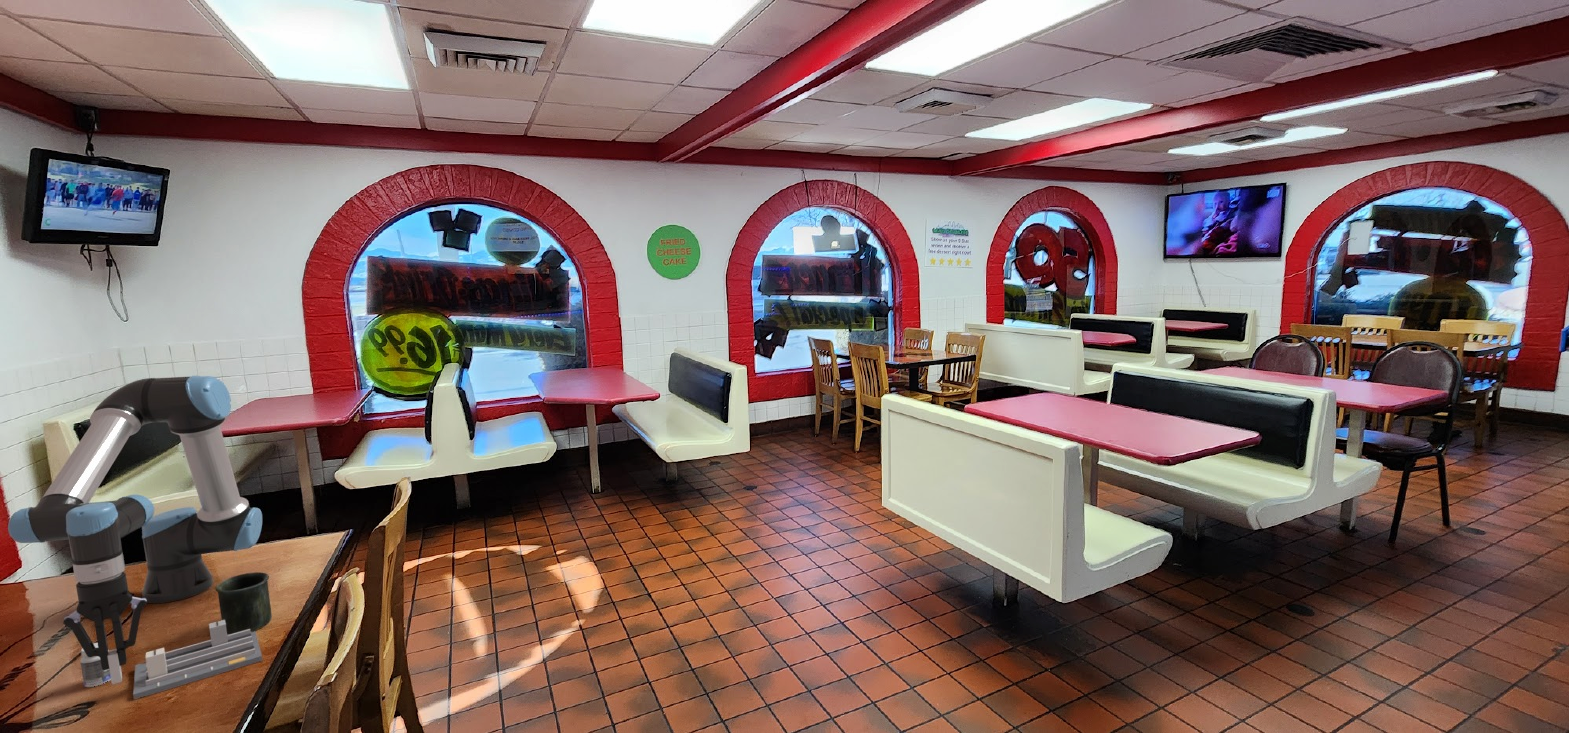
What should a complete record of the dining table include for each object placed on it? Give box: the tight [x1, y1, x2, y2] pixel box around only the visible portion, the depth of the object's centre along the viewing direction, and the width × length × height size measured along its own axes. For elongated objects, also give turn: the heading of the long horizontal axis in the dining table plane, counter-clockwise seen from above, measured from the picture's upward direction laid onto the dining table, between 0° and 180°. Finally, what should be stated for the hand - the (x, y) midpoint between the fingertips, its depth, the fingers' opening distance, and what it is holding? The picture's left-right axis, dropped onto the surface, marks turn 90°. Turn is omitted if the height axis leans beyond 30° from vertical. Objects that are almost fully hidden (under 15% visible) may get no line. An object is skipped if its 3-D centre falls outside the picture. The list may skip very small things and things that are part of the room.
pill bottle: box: [79, 642, 111, 688], centre depth 153 cm, size 5×5×8 cm
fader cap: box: [145, 647, 167, 679], centre depth 152 cm, size 3×3×6 cm
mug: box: [214, 571, 273, 635], centre depth 178 cm, size 11×15×12 cm
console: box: [132, 620, 263, 700], centre depth 159 cm, size 15×22×7 cm
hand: (117, 680), depth 148 cm, fingers closed
